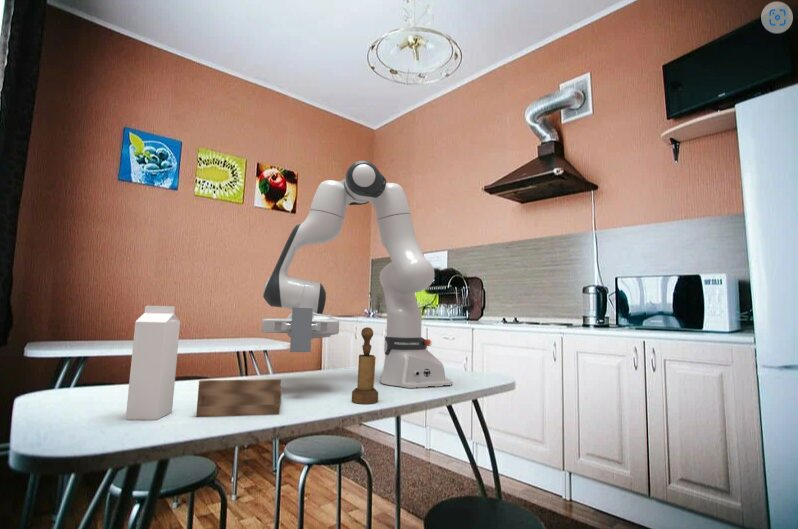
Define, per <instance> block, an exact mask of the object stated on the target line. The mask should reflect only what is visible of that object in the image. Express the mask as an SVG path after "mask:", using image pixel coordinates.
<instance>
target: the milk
mask: <svg viewBox="0 0 798 529" xmlns="http://www.w3.org/2000/svg"><path fill="white" fill-rule="evenodd" d="M175 309H176V307H175V306H172V305H146V306H145V307H144V313H143V314H141V316H140V317H138V318H137V319H136V320H135V321H134V322H135V323H134V331H133V333H134V334H133V341H132V342H133V343H132V351H131V352H132V353H131V361H130V362H131V363H130V364H131V365H130V371H129V372H130V373H129V382H128V392H127V402H126V412H125V413H126V414H125V420H127V421H131V420H132V421H135V420H136V421H140V420H141V421H157V420H160V419H162V418H164V417H165V416H166V417H167V416H168V415H170V414H172V413H173V406H174V396H175V395H174V394H175V384H176V373H177V372H176V371H177V362H178V361H177V360H178V349H179V339H180V338H179V336H180V328H181V327H180V326H181V325H180V324H181V321H180V319H179V318H178V316H176V314H175Z"/></svg>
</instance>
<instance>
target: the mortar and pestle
mask: <svg viewBox="0 0 798 529" xmlns="http://www.w3.org/2000/svg"><path fill="white" fill-rule="evenodd" d="M360 333H361V337H362V339H363V345H362V352H363V354H359V355H358V365H357V366H358V367H357V368H358V369H357V371H358V372H357V385H356V386H357V387H356V388H354V389H353V390H352V391H351V402H352V403H355V404H360V405H373V404H377V403H378V402H379V391H378V390H377V389H376V388H375V387H374V388H373V378H374V379H375V376H374V356H375V355H374V354H371V350H372V345H371V343H370V342H371V341H372V338H373V336H374V330H373V328H371V327H364V328H362V330H361V332H360Z"/></svg>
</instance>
